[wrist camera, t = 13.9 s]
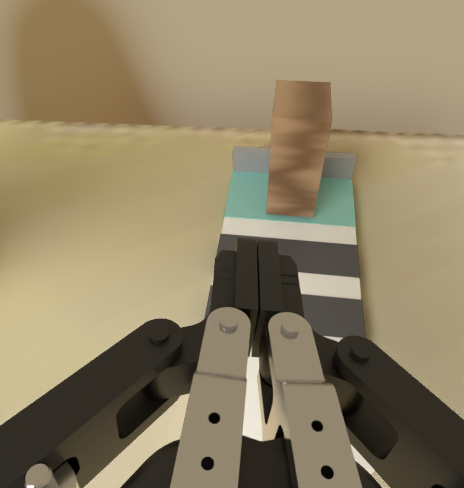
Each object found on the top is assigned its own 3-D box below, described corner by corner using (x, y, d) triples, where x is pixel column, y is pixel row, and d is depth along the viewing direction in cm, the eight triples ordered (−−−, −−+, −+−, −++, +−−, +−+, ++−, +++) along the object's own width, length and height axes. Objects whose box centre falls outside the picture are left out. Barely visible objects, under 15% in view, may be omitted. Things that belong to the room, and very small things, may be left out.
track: (183, 448, 31) (175, 433, 28) (233, 175, 51) (233, 146, 47) (370, 474, 30) (387, 461, 26) (348, 183, 49) (356, 153, 46)
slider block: (266, 213, 44) (272, 117, 34) (270, 176, 47) (276, 80, 38) (312, 217, 43) (332, 120, 34) (313, 179, 47) (330, 82, 38)
